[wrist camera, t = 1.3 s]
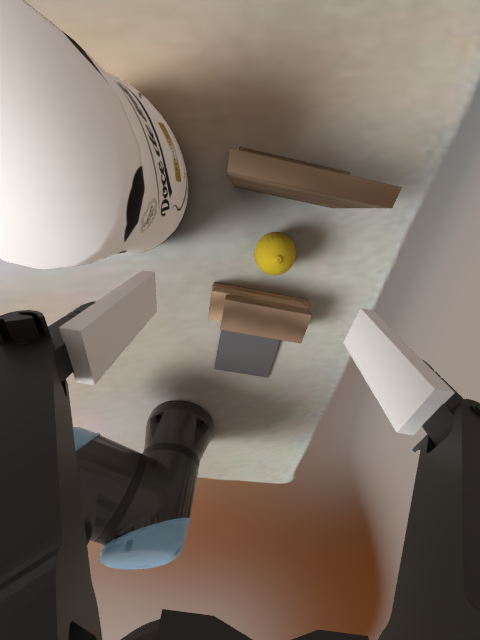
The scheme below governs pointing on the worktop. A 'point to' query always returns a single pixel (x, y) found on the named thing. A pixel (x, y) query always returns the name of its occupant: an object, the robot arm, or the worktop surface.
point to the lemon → (275, 253)
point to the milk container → (78, 153)
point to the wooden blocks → (298, 184)
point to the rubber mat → (245, 353)
